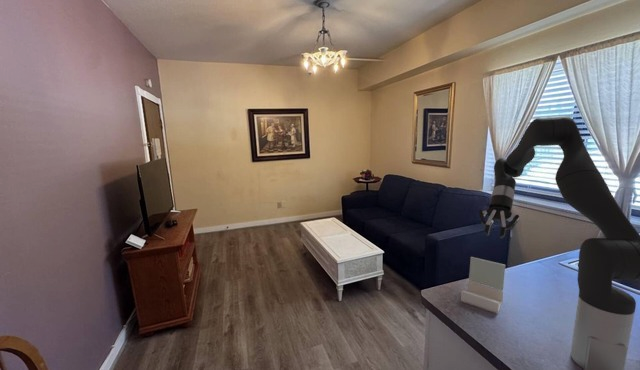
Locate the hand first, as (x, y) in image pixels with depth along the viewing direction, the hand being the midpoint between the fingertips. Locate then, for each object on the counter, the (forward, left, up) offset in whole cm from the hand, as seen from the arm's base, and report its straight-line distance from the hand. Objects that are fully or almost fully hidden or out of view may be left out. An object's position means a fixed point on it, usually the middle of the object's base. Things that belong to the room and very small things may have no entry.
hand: (493, 235), depth 100 cm
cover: (-10, +2, -11) cm, 15 cm away
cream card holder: (-15, +3, -20) cm, 25 cm away
